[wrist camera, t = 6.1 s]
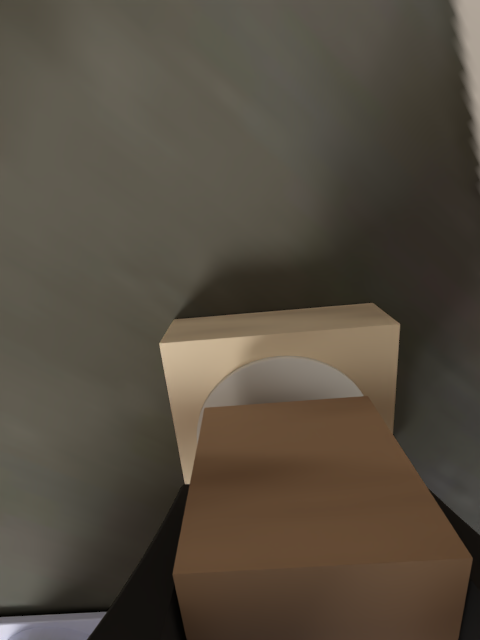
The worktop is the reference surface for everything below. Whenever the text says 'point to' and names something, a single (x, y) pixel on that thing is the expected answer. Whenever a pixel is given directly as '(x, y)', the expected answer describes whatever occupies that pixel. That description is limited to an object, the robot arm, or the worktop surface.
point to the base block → (277, 362)
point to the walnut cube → (313, 531)
